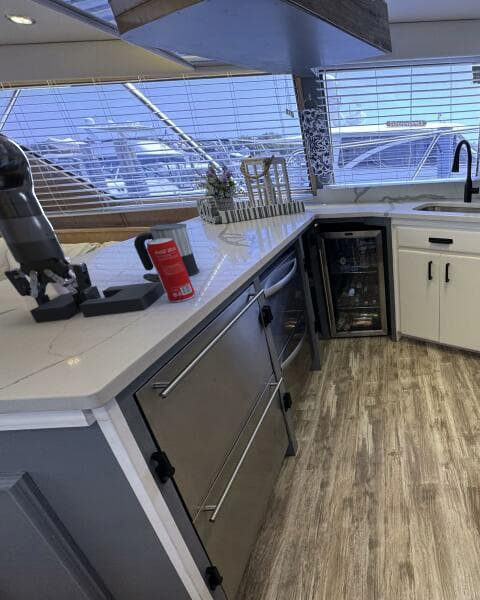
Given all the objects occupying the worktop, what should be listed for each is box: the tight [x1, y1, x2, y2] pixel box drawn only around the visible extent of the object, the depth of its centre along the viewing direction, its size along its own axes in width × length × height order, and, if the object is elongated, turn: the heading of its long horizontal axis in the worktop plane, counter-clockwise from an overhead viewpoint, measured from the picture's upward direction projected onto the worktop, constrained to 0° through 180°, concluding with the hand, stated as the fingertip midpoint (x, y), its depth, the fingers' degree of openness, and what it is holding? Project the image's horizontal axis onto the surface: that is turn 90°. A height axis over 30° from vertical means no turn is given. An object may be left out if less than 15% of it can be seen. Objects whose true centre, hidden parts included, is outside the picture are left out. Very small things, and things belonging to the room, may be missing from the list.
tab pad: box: [29, 285, 102, 324], centre depth 76 cm, size 14×6×3 cm, turn 14°
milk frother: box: [133, 223, 200, 283], centre depth 93 cm, size 14×16×15 cm
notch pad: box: [79, 281, 166, 318], centre depth 78 cm, size 12×12×3 cm
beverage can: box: [146, 238, 196, 303], centre depth 77 cm, size 6×6×15 cm
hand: (66, 308), depth 75 cm, fingers closed on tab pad, 6 cm apart
